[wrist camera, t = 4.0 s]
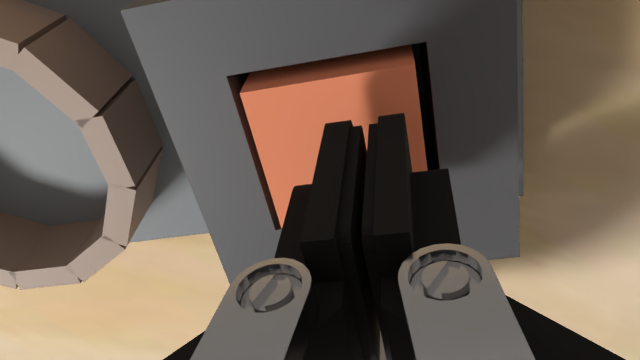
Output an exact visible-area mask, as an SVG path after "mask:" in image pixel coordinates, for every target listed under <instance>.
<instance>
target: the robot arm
mask: <svg viewBox="0 0 640 360" xmlns="http://www.w3.org/2000/svg"><path fill="white" fill-rule="evenodd" d="M380 331H381V336H382V341H383V345H384V350H385V355H386V360H625V359H623V358H622V357H620V356H618V355H616V354H614V353H612V352H610V351H609V350H607V349H605V348H603V347H601V346H599V345H597V344H596V343H594V342H592V341H590V340H588V339H586V338H584V337H583V336H581V335H579V334H577V333H575V332H573V331H571V330H569V329H568V328H566V327H564V326H562V325H560V324H558V323H556V322H555V321H553V320H551V319H549V318H547V317H545V316H543V315H542V314H540V313H538V312H536V311H534V310H532V309H530V308H529V307H527V306H525V305H523V304H521V303H519V302H517V301H515V300H514V299H512V298H510V297H508V296H506V295H505V294H504V291H503V289H502V287H501V285H500V283H499V281H498V279H497V276H496V274H495V272H494V270H493V268H492V266H491V264H490V263H489V262H488V260H487V259H486V257H485V256H483V255H482V254H481V253H479V252H478V251H476V250H475V249H472V248H469V247H466V246H463V245H461V241H460V235H459V229H458V223H457V217H456V211H455V205H454V199H453V193H452V188H451V182H450V176H449V170H448V168H446V169H437V170H428V171H419V172H412V165H411V157H410V150H409V143H408V135H407V128H406V121H405V114H404V113H398V114H391V115H384V116H378V123H375V124H369V130H368V144H367V149H366V143H365V138H364V133H363V128H362V126H361V125H360V126H353V124H352V121H351V120H347V121H340V122H332V123H325V126H324V130H323V135H322V140H321V144H320V149H319V153H318V158H317V163H316V167H315V172H314V176H313V181H312V184H305V185H297V186H294V188H293V190H292V193H291V197H290V201H289V205H288V208H287V212H286V216H285V220H284V223H283V227H282V231H281V235H280V238H279V242H278V246H277V250H276V253H275V257H274V258H273V259H268V260H264V261H261V262H258V263H256V264H254V265H252V266H250V267H248V268H246V269H245V270H244V271H243V272H241V273H240V274H239V275H238V276H237V277H236V278H235V279H234V281H233V282H232V283H231V285H230V286H229V288H228V290H227V292H226V294H225V296H224V297H223V299H222V301H221V303H220V305H219V307H218V309H217V310H216V312H215V314H214V316H213V318H212V320H211V322H210V323H209V325H208V327H207V329H206V331H204V332H203V333H201V334H200V335H198V336H197V337H195V338H194V339H192V340H191V341H190V342H188V343H187V344H185V345H184V346H182V347H181V348H179V349H178V350H176V351H175V352H174V353H172V354H171V355H169V356H168V357H166V358H165V359H163V360H380Z"/></svg>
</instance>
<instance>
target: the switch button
mask: <svg viewBox="0 0 640 360" xmlns="http://www.w3.org/2000/svg"><path fill="white" fill-rule="evenodd" d="M240 96H241V99H242V102H243V106H244V109H245V112H246V115H247V119H248V122H249V125H250V128H251V132H252V135H253V138H254V141H255V144H256V148H257V151H258V154H259V157H260V161H261V164H262V167H263V170H264V174H265V177H266V180H267V183H268V186H269V190H270V193H271V196H272V199H273V203H274V206H275V209H276V212H277V216H278V219H279V222H280V225H281V228H282V227H283V223H284V220H285V216H286V212H287V208H288V205H289V201H290V197H291V193H292V190H293V188H294V186H297V185H305V184H312V181H313V176H314V172H315V167H316V163H317V158H318V153H319V149H320V144H321V140H322V135H323V130H324V126H325V123H332V122H340V121H347V120H351V121H352V124H353V126H360V125H361V126H362V128H363V133H364V138H365V143H366V149H367V144H368V130H369V124H375V123H378V116H384V115H391V114H398V113H404V114H405V121H406V128H407V135H408V143H409V150H410V157H411V165H412V172H419V171H428V170H427V161H426V153H425V144H424V136H423V127H422V119H421V111H420V102H419V94H418V85H417V77H416V68H415V61H414V56H413V51H412V45H411V44H410V45H404V46H398V47H393V48H387V49H381V50H375V51H369V52H364V53H358V54H352V55H346V56H340V57H334V58H329V59H323V60H317V61H311V62H305V63H300V64H294V65H288V66H282V67H276V68H270V69H265V70H259V71H253V72H250V73H249V75H248V77H247V79H246V81H245V83H244V85H243V87H242V89H241V91H240Z"/></svg>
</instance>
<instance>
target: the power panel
mask: <svg viewBox="0 0 640 360" xmlns="http://www.w3.org/2000/svg"><path fill="white" fill-rule="evenodd" d="M410 44H411V45H412V51H413V56H414V61H415V68H416V77H417V85H418V94H419V102H420V111H421V119H422V127H423V136H424V144H425V153H426V161H427V170H437V169H446V168H448V170H449V176H450V182H451V188H452V193H453V199H454V205H455V211H456V217H457V223H458V229H459V235H460V241H461V245H463V246H466V247H469V248H472V249H475V250H476V251H478V252H479V253H481V254H482V255H483V256H485V257H486V259H487V260H493V259H503V258H513V257H520V250H519V196H523V55H522V0H0V285H3V286H6V287H10V288H14V289H16V288H17V287H19V288H20V290H22V289H31V288H41V287H50V286H59V285H69V284H78V283H81V282H82V281H84V282H85V281H86V280H87V279H89V278H90V277H91V276H92V275H94V274H95V273H96V272H97V271H99V270H100V269H101V268H102V267H104V266H105V265H106V264H107V263H109V262H110V261H111V260H112V259H114V258H115V257H116V256H118V255H119V254H120V253H121V252H123V251H124V250H125V249H126V247H127V245H128V244H129V242H137V241H145V240H154V239H162V238H171V237H179V236H187V235H196V234H204V233H210V235H211V238H212V240H213V243H214V245H215V248H216V250H217V253H218V255H219V258H220V260H221V263H222V265H223V268H224V270H225V273H226V275H227V278H228V280H229V283H230V285H231V283H232V282H233V281H234V279H235V278H236V277H237V276H238V275H239V274H240V273H241V272H243V271H244V270H245V269H246V268H248V267H250V266H252V265H254V264H256V263H258V262H261V261H264V260H268V259H273V258H274V257H275V253H276V250H277V246H278V242H279V238H280V235H281V231H282V228H281V225H280V222H279V219H278V216H277V212H276V209H275V206H274V203H273V199H272V196H271V193H270V190H269V186H268V183H267V180H266V177H265V174H264V170H263V167H262V164H261V161H260V157H259V154H258V151H257V148H256V144H255V141H254V138H253V135H252V132H251V128H250V125H249V122H248V119H247V115H246V112H245V109H244V106H243V102H242V99H241V96H240V91H241V89H242V87H243V85H244V83H245V81H246V79H247V77H248V75H249V73H250V72H253V71H259V70H265V69H270V68H276V67H282V66H288V65H294V64H300V63H305V62H311V61H317V60H323V59H329V58H334V57H340V56H346V55H352V54H358V53H364V52H369V51H375V50H381V49H387V48H393V47H398V46H404V45H410Z"/></svg>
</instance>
